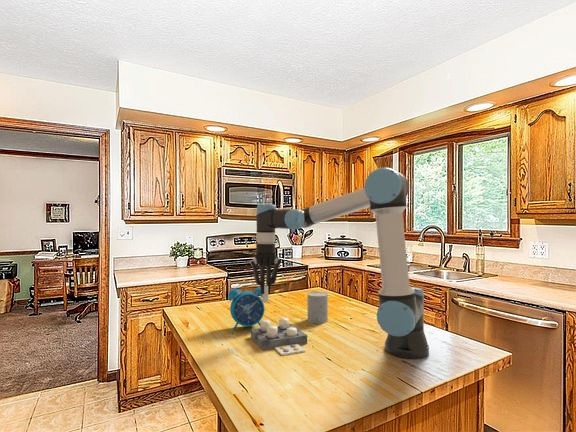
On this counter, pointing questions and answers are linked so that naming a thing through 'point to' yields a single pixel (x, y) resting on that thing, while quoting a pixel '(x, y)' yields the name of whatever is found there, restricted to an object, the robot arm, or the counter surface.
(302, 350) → the card
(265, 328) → the button
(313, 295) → the speckled white tin can
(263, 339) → the button board
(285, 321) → the button
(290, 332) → the button
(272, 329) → the button
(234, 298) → the alarm clock
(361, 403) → the counter surface
